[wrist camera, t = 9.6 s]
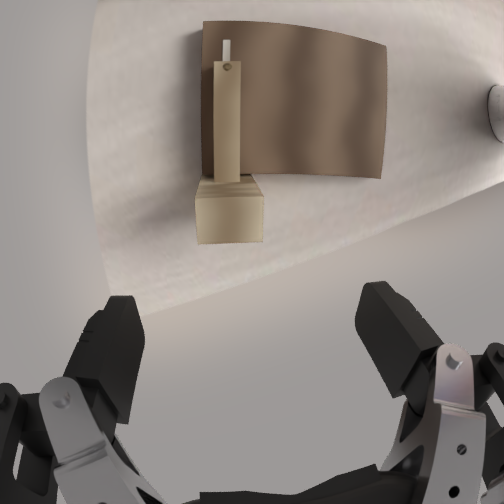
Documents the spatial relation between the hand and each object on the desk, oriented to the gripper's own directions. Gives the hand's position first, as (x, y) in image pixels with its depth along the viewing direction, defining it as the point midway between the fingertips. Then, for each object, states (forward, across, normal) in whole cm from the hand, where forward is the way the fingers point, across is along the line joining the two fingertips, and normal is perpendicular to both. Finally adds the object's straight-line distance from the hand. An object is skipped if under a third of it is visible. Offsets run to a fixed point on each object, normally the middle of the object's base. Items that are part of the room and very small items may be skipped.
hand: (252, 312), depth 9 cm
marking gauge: (+18, 0, -4) cm, 18 cm away
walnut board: (+18, -6, -8) cm, 21 cm away
